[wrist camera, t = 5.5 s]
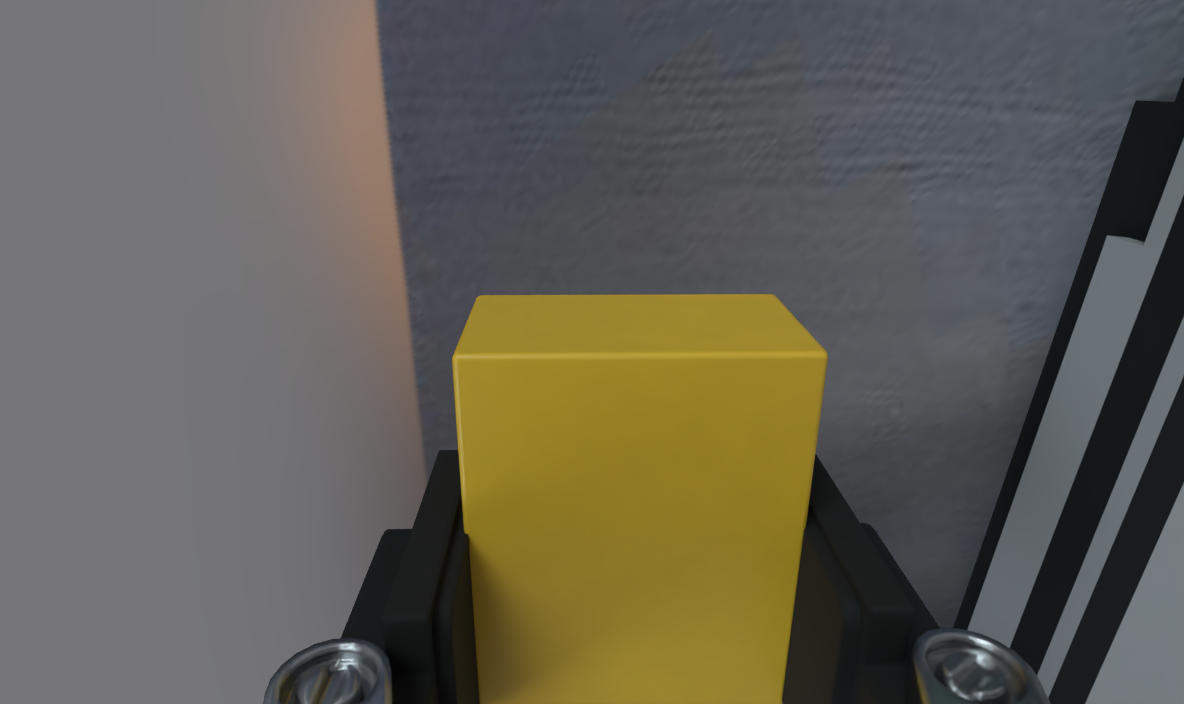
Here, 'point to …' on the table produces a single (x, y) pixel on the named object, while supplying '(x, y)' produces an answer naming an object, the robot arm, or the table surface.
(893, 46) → the table surface
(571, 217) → the table surface
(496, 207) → the table surface
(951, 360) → the table surface
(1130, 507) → the game console
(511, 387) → the block
